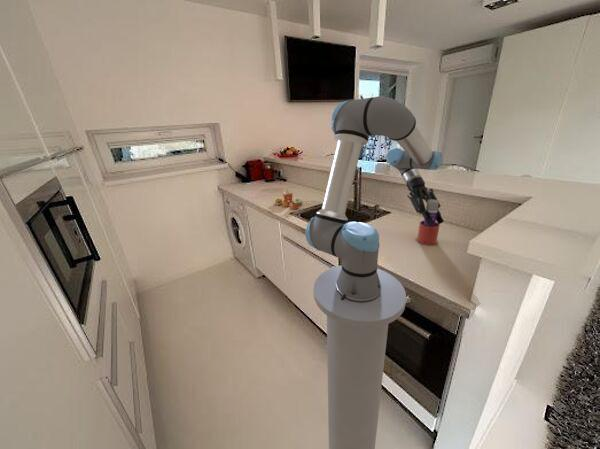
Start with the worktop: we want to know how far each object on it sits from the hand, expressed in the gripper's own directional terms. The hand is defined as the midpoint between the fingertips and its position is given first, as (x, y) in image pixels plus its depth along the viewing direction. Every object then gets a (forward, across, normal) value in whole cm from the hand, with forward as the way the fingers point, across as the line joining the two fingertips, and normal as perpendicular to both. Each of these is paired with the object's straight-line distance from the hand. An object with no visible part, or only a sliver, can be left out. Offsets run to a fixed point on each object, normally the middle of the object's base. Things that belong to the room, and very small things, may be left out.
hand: (436, 223), depth 109 cm
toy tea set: (-56, +41, -71) cm, 100 cm away
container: (+1, 0, -6) cm, 7 cm away
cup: (+5, 0, -10) cm, 11 cm away
